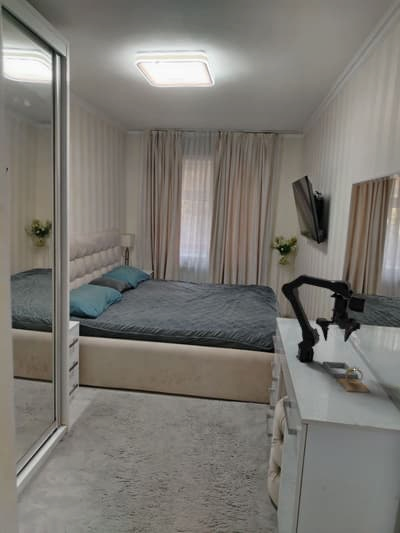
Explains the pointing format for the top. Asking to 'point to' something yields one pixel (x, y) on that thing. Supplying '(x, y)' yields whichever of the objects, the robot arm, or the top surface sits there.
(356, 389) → the pad
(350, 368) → the ring
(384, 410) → the top surface
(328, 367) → the bin
